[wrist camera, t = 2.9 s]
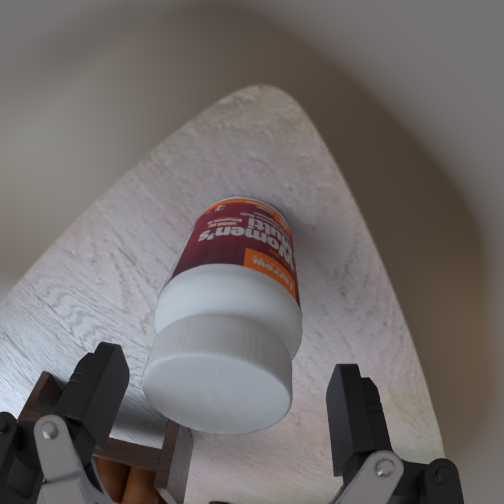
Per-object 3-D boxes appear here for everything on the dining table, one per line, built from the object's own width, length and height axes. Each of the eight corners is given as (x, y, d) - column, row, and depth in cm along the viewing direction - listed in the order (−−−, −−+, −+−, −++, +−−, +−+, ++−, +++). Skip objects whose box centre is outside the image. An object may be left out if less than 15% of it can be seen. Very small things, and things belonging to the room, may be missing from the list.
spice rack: (42, 370, 29) (3, 448, 19) (184, 403, 29) (162, 508, 19) (71, 414, 34) (44, 481, 24) (193, 442, 34) (180, 524, 24)
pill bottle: (301, 202, 18) (337, 355, 8) (281, 288, 21) (286, 446, 11) (195, 186, 18) (113, 321, 8) (189, 274, 21) (138, 424, 11)
